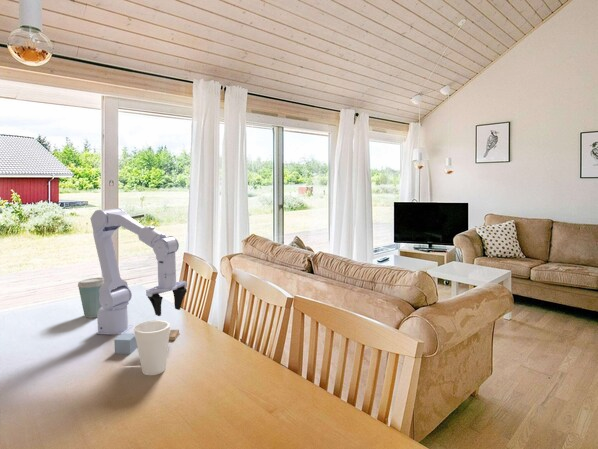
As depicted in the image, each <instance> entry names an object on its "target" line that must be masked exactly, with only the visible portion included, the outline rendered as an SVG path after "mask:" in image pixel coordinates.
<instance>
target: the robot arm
mask: <svg viewBox="0 0 598 449" xmlns="http://www.w3.org/2000/svg"><path fill="white" fill-rule="evenodd" d="M89 218H90V222H91V227H92V235H93V240H94V244H95V247H96V252H97V253H96V254H97V257H98V260H99V266H100V269H101V270H100V271H101V274H102V277H103V279H104V283H103V285H102V286H101V287H100V289H99V293H100V296H99V302H100V305H101V306H102V307H101V308H100V309H99V311H98V315H97V317H96V318H97V332H96V334H97V335H121V334H122V333H126V332H127V331H129V330H130V329H132V328H133V327H134V325H133V324H132V325H131V324H129V317H128V316H129V315H128V305H129V302H130V301H131V299H132V298H133V297H132V296H133V295H132V294H133V293H132V290H131V288H130V286H129V284H128V282H127V281H126V280H124V279H122V278H121V274H120V269H119V264H118V260H117V256H116V252H115V247H114V243H113V238H112V236H113V235H114V233H115V232H116V231H117V230H118V229H120V228H121V227H122V228H124V229H126V230H128V231H130V232H132V233H134V234H135V235H137V237H138V240H139V241H141V242H142V243H143V244H145V245H146V246H149V247H150V248H152V251H153V252H154V254H155V260H156V261H157V281H158V285H156V286H153V287H151V288H148V289H146V290H145V292H146V293H145V295H146V297H147V298H148V300H149V302H150V304H151V305H152V307H153V310H154V314H155V316H158V317H161V316H162V302H163V296H161V295H160V294H162V293H163V294H164V293H167V292H171V291H172V292H173V300H174V309H175V310H178V311H181V307H182V303H183V300H184V298H185V295H186V293H187V292H188V291H187V290H188V289H187V288H188V281H186V280H182V281H177V268H176V264H177V263H176V261H177V260H176V259H177V258H176V253H177V252H178V251H179V247H180V245H179V241H178V240H177V238H176V237H175V236H173V235H169V236H167V235H166V234H165V233H163V232H161V231H158V230H157V229H155V228H156V227H155V226H154V225H147V226H144V225H142V224H141V223H140V222H138V221H137V220H136V219H134V218H132V217H131V216H130V215H129V214H128V212H127V211H126V210H124V209H122V208H119V207H118V208H117V207H116V208H110V209H97V210H95V211H93V213H92V215H91V217H89Z"/></svg>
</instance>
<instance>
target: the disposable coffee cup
mask: <svg viewBox="0 0 598 449" xmlns="http://www.w3.org/2000/svg"><path fill="white" fill-rule="evenodd" d="M103 283H104V279H103V276H102V277H101V276H100V277H91V278H85V279H81V280H79V281H78V284H77V287H78V290H79V296H80V302H81V306H82V311H83V315H84V317H85V318H88V319H89V318H90V319H91V318H97V315H98V311H99V309H100V308H101V307H102V306H101V305H100V302H99V296H100V293H99V289H100V287H101V286H102V285H103Z"/></svg>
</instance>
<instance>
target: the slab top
mask: <svg viewBox="0 0 598 449" xmlns="http://www.w3.org/2000/svg"><path fill="white" fill-rule="evenodd" d="M178 334H180V330H179V329H170V334H169V340H174V341H176V339H177V338H178V337H179V336H178ZM177 336H178V337H177Z"/></svg>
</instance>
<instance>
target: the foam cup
mask: <svg viewBox="0 0 598 449" xmlns="http://www.w3.org/2000/svg"><path fill="white" fill-rule="evenodd" d="M133 330H134V331H133V332H134V334H135V338H136V342H137V347H138V348H137V352H138V356H139V361H140V367H141V371H142V373H143V375H146V376H156V375H161V373H164V372H165V371H166V368H167V362H168V361H167V360H168V351H169V350H168V349H169V342H170V341H169V334H170V330H171V323H170V322H168V321H165V320H150V321H146V322H141V323H139V324H138V325H135V327H134V329H133Z"/></svg>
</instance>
